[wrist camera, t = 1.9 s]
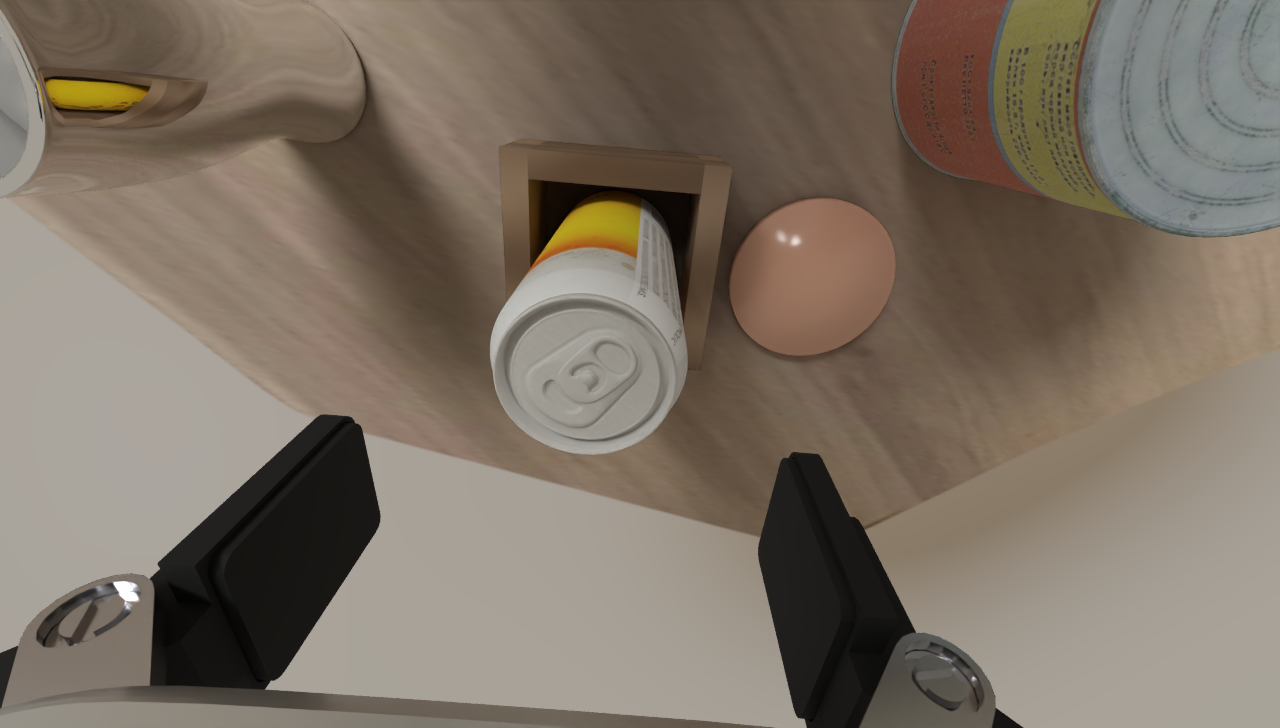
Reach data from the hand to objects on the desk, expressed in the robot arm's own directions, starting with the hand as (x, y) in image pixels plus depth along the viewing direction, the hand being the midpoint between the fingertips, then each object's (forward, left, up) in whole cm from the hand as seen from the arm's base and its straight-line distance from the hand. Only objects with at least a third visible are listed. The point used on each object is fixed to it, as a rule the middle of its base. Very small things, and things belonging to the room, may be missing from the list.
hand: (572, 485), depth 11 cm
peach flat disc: (+1, +11, -19) cm, 22 cm away
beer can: (0, 0, -19) cm, 19 cm away
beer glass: (-7, -16, -19) cm, 26 cm away
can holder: (0, 0, -19) cm, 19 cm away
